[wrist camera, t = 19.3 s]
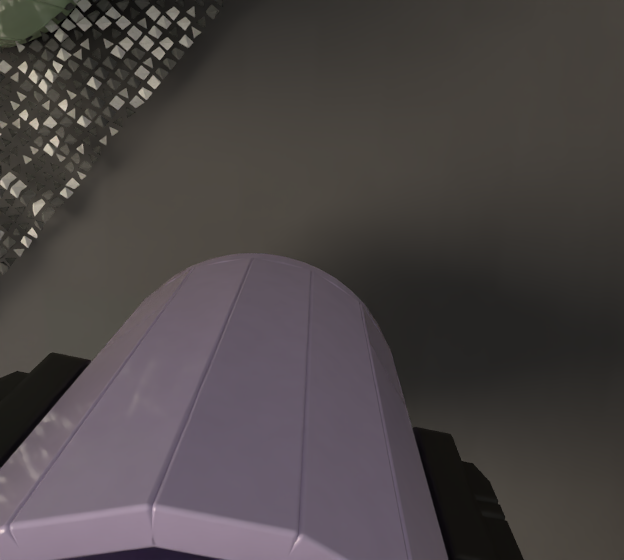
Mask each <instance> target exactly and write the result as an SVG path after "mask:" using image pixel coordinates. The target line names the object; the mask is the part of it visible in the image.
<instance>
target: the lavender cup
mask: <svg viewBox="0 0 624 560" xmlns="http://www.w3.org/2000/svg"><path fill="white" fill-rule="evenodd" d="M0 560H449V559H448V555H447V552H446V548H445V544H444V541H443V537H442V534H441V530H440V526H439V523H438V519H437V515H436V512H435V508H434V505H433V501H432V497H431V494H430V490H429V486H428V483H427V479H426V476H425V472H424V468H423V465H422V461H421V457H420V454H419V450H418V447H417V443H416V439H415V436H414V432H413V428H412V425H411V421H410V418H409V414H408V410H407V407H406V403H405V400H404V396H403V392H402V389H401V385H400V381H399V378H398V374H397V371H396V367H395V363H394V360H393V356H392V352H391V350H390V347H389V346H388V344H387V342H386V341H385V338H384V336H383V333H382V331H381V329H380V327H379V325H378V324H377V322H376V320H375V318H374V316H373V315H372V314H371V312H370V311H369V310H368V308H367V307H366V306H365V304H364V303H363V302H362V301H361V300H360V299H359V298H358V297H357V296H356V295H355V294H354V293H353V292H352V291H351V290H350V289H349V288H348V287H346V286H345V285H344V284H342V283H341V282H340V281H339V280H337V279H336V278H334V277H332V276H331V275H329V274H327V273H326V272H324V271H322V270H321V269H318V268H316V267H314V266H311V265H309V264H307V263H304V262H302V261H298V260H295V259H291V258H288V257H284V256H278V255H271V254H260V253H243V254H233V255H226V256H221V257H217V258H213V259H209V260H206V261H203V262H201V263H198V264H196V265H193V266H191V267H189V268H187V269H185V270H183V271H182V272H180V273H178V274H176V275H175V276H173V277H172V278H170V279H169V280H168V281H166V282H165V283H164V284H162V285H161V286H160V287H159V288H158V289H157V290H156V291H155V292H154V293H152V294H151V295H149V296H148V297H147V298H146V299H145V300H144V301H143V302H142V303H141V304H140V305H139V306H138V308H137V309H136V310H135V311H134V312H133V313H132V315H131V316H130V317H129V318H128V319H127V321H126V322H125V323H124V324H123V325H122V326H121V328H120V329H119V330H118V331H117V332H116V333H115V335H114V336H113V337H112V338H111V339H110V340H109V342H108V343H107V344H106V345H105V346H104V348H103V349H102V350H101V351H100V352H99V353H98V355H97V356H96V357H95V358H94V359H93V360H92V362H91V363H90V364H89V365H88V366H87V367H86V369H85V370H84V371H83V372H82V373H81V374H80V376H79V377H78V378H77V379H76V380H75V382H74V383H73V384H72V385H71V386H70V387H69V389H68V390H67V391H66V392H65V393H64V394H63V396H62V397H61V398H60V399H59V400H58V401H57V403H56V404H55V405H54V406H53V407H52V408H51V410H50V411H49V412H48V413H47V414H46V416H45V417H44V418H43V419H42V420H41V421H40V423H39V424H38V425H37V426H36V427H35V428H34V430H33V431H32V432H31V433H30V434H29V435H28V437H27V438H26V439H25V440H24V441H23V442H22V444H21V445H20V446H19V447H18V448H17V450H16V451H15V452H14V453H13V454H12V455H11V457H10V458H9V459H8V460H7V461H6V462H5V464H4V465H3V466H2V467H1V468H0Z"/></svg>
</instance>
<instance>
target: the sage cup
mask: <svg viewBox="0 0 624 560" xmlns="http://www.w3.org/2000/svg"><path fill="white" fill-rule="evenodd" d="M79 1H80V0H78V1H77V2H76V3H78V2H79ZM69 3H72V4H73V5H74V6H76V5H77V4H76V3H75V2H74V1H73V0H0V47H2V48H8V47H12V46H16V42H17V43H19V44H24V43H26V38H28V37H30V36H33V37H32V38H31V39H30V40H29V41H31V40H33V39H36V38H38V37H40V36H42V35H41V32H43V33H46V32H48V31H49V30H48V29H47V28H46V27H45V26H46V25H47V24H48V23H49V21H50V20H53V21H54V22H55V23H56V24H57V25H58V24H59V23H60V22H61V21H62V20H63V19H62V20H60V21H59V20H57V19H56V18H54V17H56V16H57V15H58V14H59V13H60V12H62V13H63V14H64V15H65V16H66V17H67V16H68V15H69V13H70V12H71V11H72V10H73V9H71V10H68V11H67V10H66V9H64V8H65V7H66V5H67V4H69ZM40 31H41V32H40ZM29 41H28V42H29ZM9 44H10V45H9Z"/></svg>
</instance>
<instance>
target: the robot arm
mask: <svg viewBox="0 0 624 560" xmlns="http://www.w3.org/2000/svg"><path fill="white" fill-rule="evenodd" d="M90 363H91V361H90V360H88V359H83V358H78V357H73V356H68V355H63V354H58V353H50V354H49V355H48V356H47V357H46V358H45V359H44V360H43V361H42V362H41V363H40V364H38V365H37V366H36V367H35V368H34V369H33V370H32V371H31V372H30V373H24V372H19V371H16V372H14V373H11V374H9V375H7V376H4V377H2V378H0V468H1V467H2V466H3V465H4V464H5V462H6V461H7V460H8V459H9V458H10V457H11V455H12V454H13V453H14V452H15V451H16V450H17V448H18V447H19V446H20V445H21V444H22V442H23V441H24V440H25V439H26V438H27V437H28V435H29V434H30V433H31V432H32V431H33V430H34V428H35V427H36V426H37V425H38V424H39V423H40V421H41V420H42V419H43V418H44V417H45V416H46V414H47V413H48V412H49V411H50V410H51V408H52V407H53V406H54V405H55V404H56V403H57V401H58V400H59V399H60V398H61V397H62V396H63V394H64V393H65V392H66V391H67V390H68V389H69V387H70V386H71V385H72V384H73V383H74V382H75V380H76V379H77V378H78V377H79V376H80V374H81V373H82V372H83V371H84V370H85V369H86V367H87V366H88V365H89V364H90ZM413 432H414V436H415V439H416V443H417V447H418V450H419V454H420V457H421V461H422V465H423V468H424V472H425V476H426V479H427V483H428V486H429V490H430V494H431V497H432V501H433V505H434V508H435V512H436V515H437V519H438V523H439V526H440V530H441V534H442V537H443V541H444V544H445V548H446V552H447V555H448V559H449V560H524V559H523V557H522V555H521V552H520V550H519V548H518V545H517V543H516V541H515V539H514V536H513V534H512V532H511V529H510V527H509V525H508V522H507V521H505V516H504V513H503V511H502V509H501V506H500V505H499V504H498V499H497V497H496V495H495V493H494V490H493V488H492V486H491V483H490V482H489V480H488V479H487V478H486V477H485V476H484V475H483V474H482V473H481V472H480V471H479V470H478V469H477V467H476V466H475V465H474V464H473V463H468V462H463V461H461V458H460V456H459V453H458V450H457V448H456V445H455V442H454V440H453V437H452V436H451V434H448V433H443V432H438V431H433V430H428V429H423V428H418V427H414V428H413Z"/></svg>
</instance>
